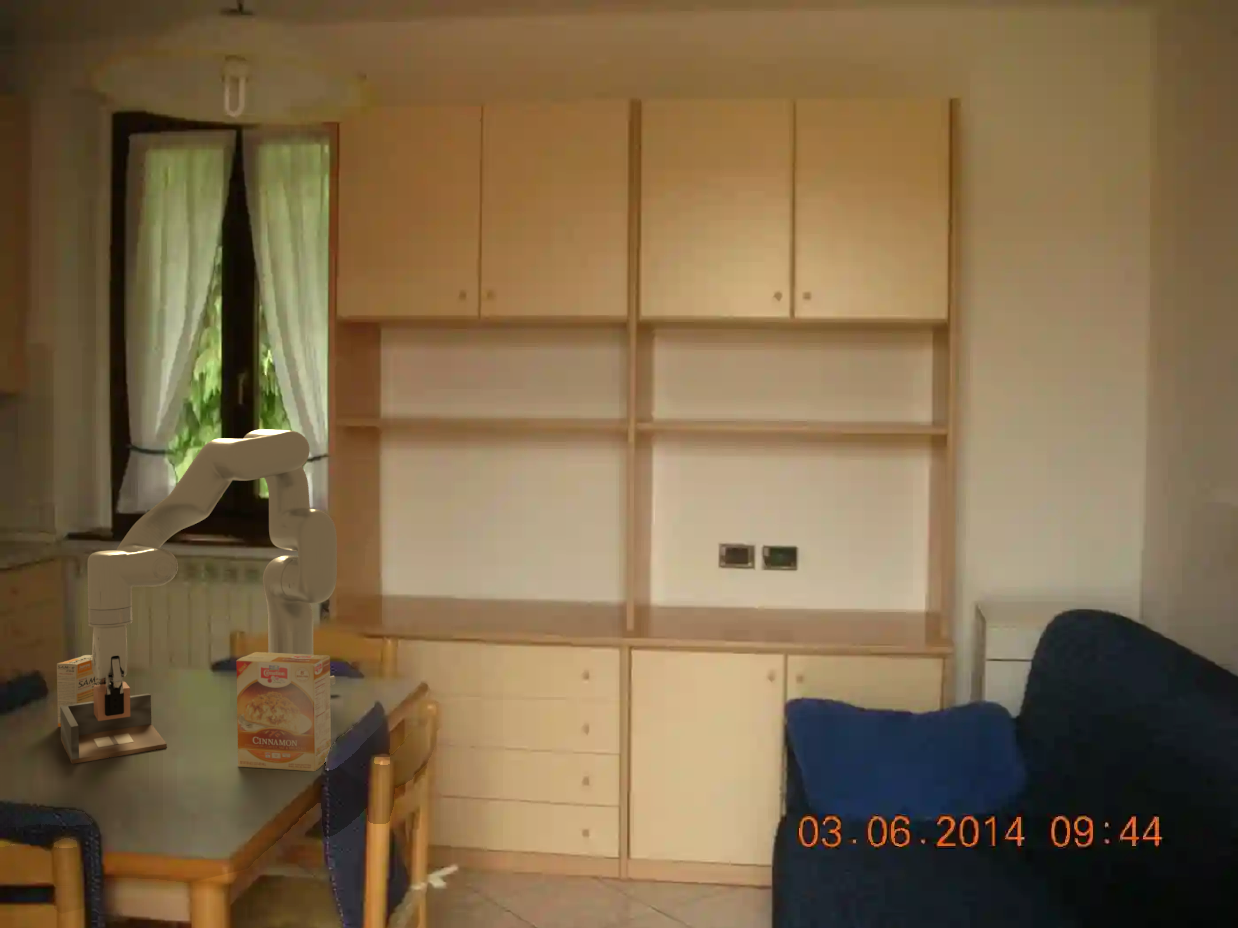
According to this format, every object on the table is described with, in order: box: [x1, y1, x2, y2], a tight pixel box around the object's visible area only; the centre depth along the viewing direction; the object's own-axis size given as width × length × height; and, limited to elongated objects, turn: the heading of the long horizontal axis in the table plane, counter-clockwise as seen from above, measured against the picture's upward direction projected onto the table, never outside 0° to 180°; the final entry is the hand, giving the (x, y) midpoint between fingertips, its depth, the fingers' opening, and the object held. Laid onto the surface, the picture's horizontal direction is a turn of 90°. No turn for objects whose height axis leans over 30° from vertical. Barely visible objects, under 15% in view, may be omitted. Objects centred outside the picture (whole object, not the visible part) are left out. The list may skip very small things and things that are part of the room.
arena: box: [60, 693, 168, 765], centre depth 199 cm, size 16×16×7 cm
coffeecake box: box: [235, 651, 332, 772], centre depth 188 cm, size 15×7×20 cm, turn 80°
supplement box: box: [56, 654, 100, 728], centre depth 213 cm, size 8×5×13 cm, turn 168°
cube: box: [93, 681, 131, 721], centre depth 198 cm, size 6×6×6 cm
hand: (111, 709), depth 198 cm, fingers closed on cube, 5 cm apart
